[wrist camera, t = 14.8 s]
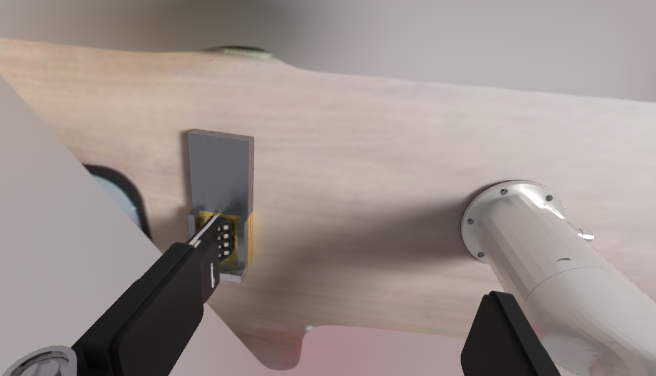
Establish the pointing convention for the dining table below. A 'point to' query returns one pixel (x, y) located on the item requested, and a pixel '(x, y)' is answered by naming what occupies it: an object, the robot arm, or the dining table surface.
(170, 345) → the robot arm
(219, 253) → the battery charger
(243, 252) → the grey and yellow block
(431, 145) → the dining table surface
